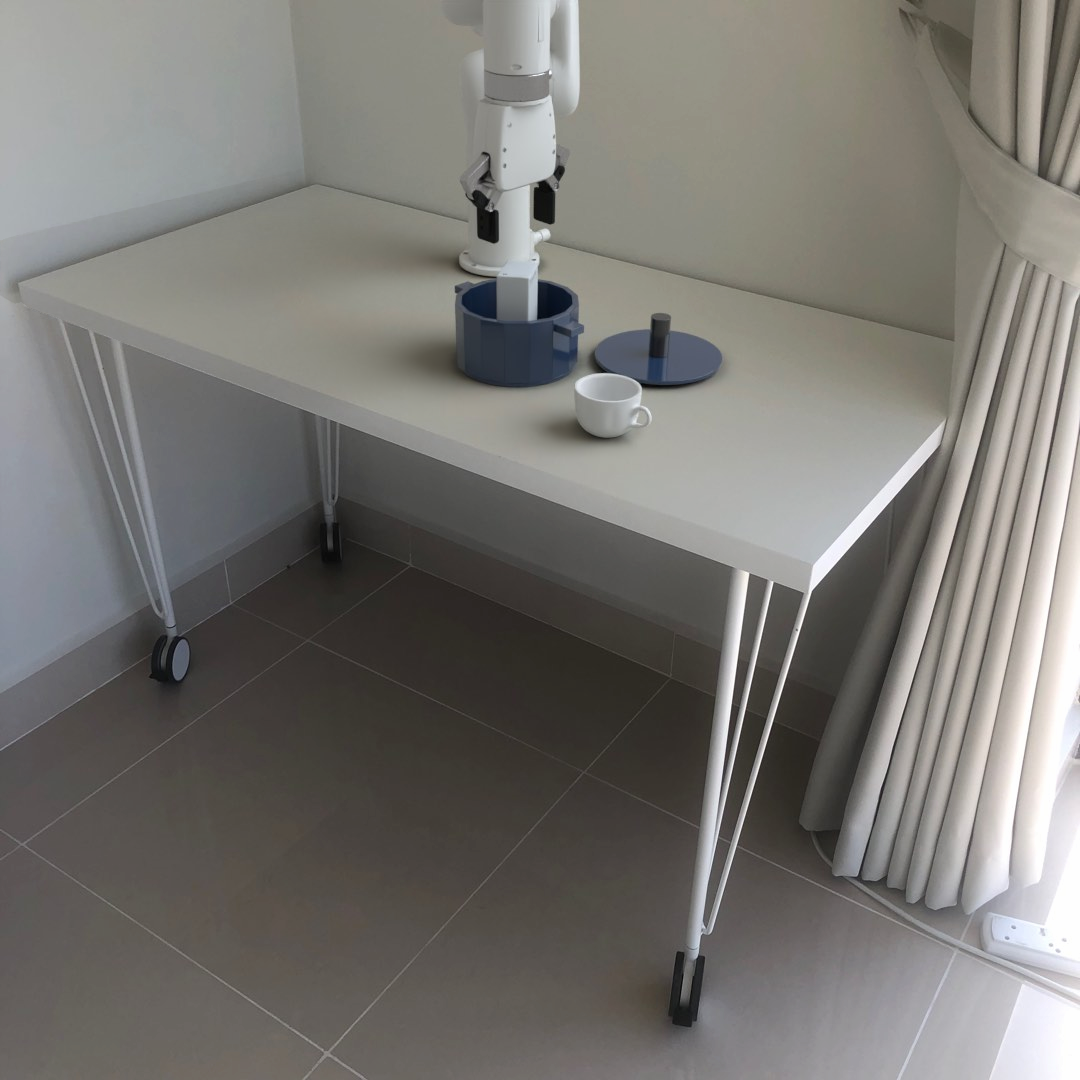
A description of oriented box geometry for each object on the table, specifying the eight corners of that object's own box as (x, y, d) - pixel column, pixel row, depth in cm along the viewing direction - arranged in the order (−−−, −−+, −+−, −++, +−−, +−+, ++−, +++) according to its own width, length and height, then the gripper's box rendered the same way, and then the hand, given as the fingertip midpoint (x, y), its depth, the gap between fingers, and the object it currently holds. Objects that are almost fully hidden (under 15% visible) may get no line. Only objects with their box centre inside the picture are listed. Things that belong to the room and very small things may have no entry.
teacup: (559, 430, 136) (560, 388, 133) (598, 408, 141) (600, 367, 138) (629, 457, 131) (632, 414, 128) (667, 433, 136) (671, 391, 133)
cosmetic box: (528, 368, 149) (529, 278, 143) (496, 365, 150) (495, 275, 144) (538, 349, 154) (538, 262, 148) (506, 346, 155) (506, 259, 149)
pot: (503, 322, 163) (503, 264, 159) (616, 367, 151) (619, 305, 147) (419, 354, 154) (415, 293, 149) (532, 405, 142) (533, 340, 137)
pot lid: (649, 326, 163) (652, 283, 159) (747, 362, 153) (752, 316, 150) (568, 361, 153) (569, 316, 149) (667, 401, 143) (671, 354, 140)
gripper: (545, 68, 141) (543, 208, 151) (438, 92, 131) (443, 240, 141) (591, 79, 137) (586, 222, 147) (484, 104, 127) (486, 256, 136)
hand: (516, 230), depth 144 cm, fingers open, 9 cm apart
